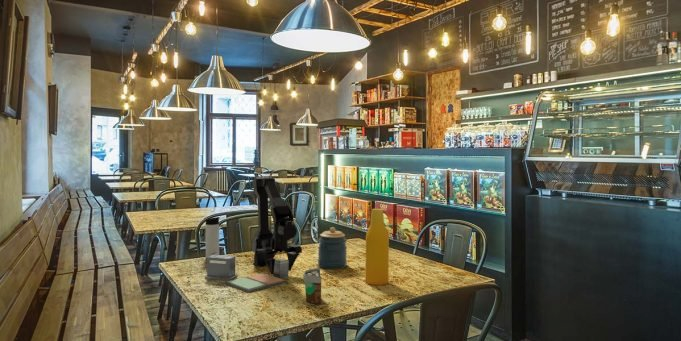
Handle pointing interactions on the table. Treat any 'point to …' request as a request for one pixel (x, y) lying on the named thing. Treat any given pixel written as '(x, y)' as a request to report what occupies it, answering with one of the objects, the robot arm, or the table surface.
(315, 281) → the food container
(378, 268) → the beer bottle
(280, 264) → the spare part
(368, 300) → the table surface
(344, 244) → the canister
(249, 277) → the sorting board
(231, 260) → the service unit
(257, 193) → the robot arm
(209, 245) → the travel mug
